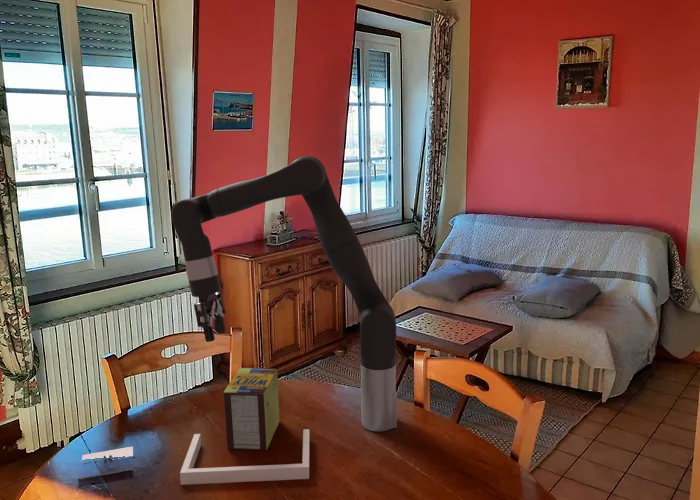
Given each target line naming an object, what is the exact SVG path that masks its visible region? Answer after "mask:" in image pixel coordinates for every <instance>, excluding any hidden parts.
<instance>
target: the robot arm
mask: <svg viewBox="0 0 700 500" xmlns="http://www.w3.org/2000/svg"><path fill="white" fill-rule="evenodd" d="M295 196H302V198H303V200H304V201H305V203H306V205H307V207H308V209H309V210H310V211H309V212H310V213H311V215H312V218H313V221H314V225H315V229H316V232H317V235H318V239H319V242H320V244H321V247H322V250H323V252H324V254H325V256H326V258H327V260H328V262H329V265H330V266H331V268H332V270H333V271H334V273H335V274H336V276H337V277H338V278H339V280H341V282H342V283H343V284H344V285H345V287H346V288H347V290H348V291H349V293H350V294H351V296H352V299H353V301H354V303H355V306H356V308H357V312H358V314H359V319H360V320H359V321H360V322H359V344H360V346H359V347H360V349H359V350H360V351H359V354H360V402H361V405H360V409H361V411H360V412H361V413H360V417H361V418H360V420H361V422H360V423H361V425H362V427H363V428H364V429H366V430H368V431H371V432H378V433H379V432H386V431H390V430H392V429H397V428H398V394H397V388H396V387H397V386H396V385H397V384H396V382H397V381H396V380H397V379H396V378H397V377H396V376H397V375H396V374H397V371H396V370H397V368H396V363H397V362H396V361H397V360H396V359H397V358H396V357H397V321H396V315H395V314H396V313H395V312H394V310H393V308H392V306H391V305H390V303H389V301H388V299H386V297H385V295H384V294H383V292H382V291H381V289H380V287H379V285H378V283H377V282H376V280H375V277H374V275H373V272H372V268H371V266H370V262H369V261H368V258H367V256H366V253H365V250H364V249H363V246H362V244H361V242H360V240H359V238H358V235H357V234H356V232H355V230H354V228H353V226H352V224H351V223H350V221H349V220H348V218H347V215H346V214H345V212H344V211H343V208H342V207H341V205H340V204H339V202H338V200H337V198H336V196H335V193H334V190H333V188H332V185H331V182H330V179H329V177H328V174H327V170H326V167H325V166H324V164H323V162H321V160H320V159H318V158H317V157H315V156H311V155H303V156H300V157H298V158H296V159H295V160H293V161H292V162H291V163H290V164H287V165H286V166H283V167H282V168H281V169H279V170H276V171H274V172H271V173H269V174H266V175H263V176H259V177H257V178H251V179H247V180H243V181H238V182H235V183H231V184H228V185H225V186H222V187H219V188H216V189H214V190H212V191H210V192H209V193H206V194H202V195H198V196H195V197H190V198H184V199H183V198H182V199H179V200H177V201H176V202H174V204H173V206H172V208H171V213H170V214H171V221H172V224H173V227H174V230H175V233H176V235H177V238H178V239H179V242H180V243H181V246H182V248H181V249H182V251H183V257H184V262H185V271H186V275H187V279H188V283H189V284H188V285H189V289H190V294H191V296H192V297H194V298H198V302H196V303H193V307H194V312H195V318H196V323H197V327H198V328H201V329H202V330H203V334H204V339H205V343H210V342H214V341H216V340H215V339H216V337H215V334H214V329H213V325H212V324H213V319H214V325H215V330H216V333H217V334H224V333H226V326H225V320H224V317H225V315H226V308H225V304H224V299H223V296H222V293H221V292H220V291H222V287H221V282H220V279H219V278H220V277H219V273H218V267H217V264H216V261H215V258H214V255H213V254H214V253H213V250H212V245H211V241H210V238H209V236H208V235H206V234H205V233H204V229H203V227H202V224H204V223H207V222H209V221H212V220H215V219H216V218H221V217H226V216H228V215H233V214H235V213H239V212H241V211H244V210H248V209H250V208H252V207H255V206H259V205H261V204H264V203H267V202H271V201H273V200H277V199H284V198H288V197H295ZM389 429H390V430H389Z"/></svg>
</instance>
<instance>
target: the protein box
mask: <svg viewBox="0 0 700 500" xmlns="http://www.w3.org/2000/svg"><path fill="white" fill-rule="evenodd" d="M278 379H279V378H278V369H277V368H262V367H261V368H255V367H239V369H238V370H237V371H236V373H235V375H234V376H233V378H232V379H231V380H230V382H229V383H228V385H227V386H226V388H225V389H224V391H223V402H224V403H223V404H224V417H225V418H224V419H225V421H224V422H225V433H226V447H227V448H226V449H227V450H249V451H251V450H254V451H267V450H268V448H269V446H270V444H271V442H272V440H273V436H274V434H275V432H276V430H277V428H278V426H279V423H280V408H279V407H280V405H279V386H278V385H279V383H278V382H279V380H278Z"/></svg>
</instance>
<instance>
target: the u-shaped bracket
mask: <svg viewBox="0 0 700 500" xmlns="http://www.w3.org/2000/svg"><path fill="white" fill-rule="evenodd" d="M201 437H202V435H201V433H194V434H193V436H192V440H191V442H190V444H189V448H188V450H187V453H186V456H185V458H184V461H183V463H182V467H181V468H180V469H181V470H180V472H179V479H180V485H181V486H182V485H185V486H186V485H203V484H205V485H207V484H208V485H209V484H224V483H225V484H226V483H227V484H228V483H229V484H230V483H244V482H245V483H247V482H267V481H268V482H269V481H270V482H271V481H289V480H291V481H292V480H309V479H310V447H311V444H310V429H309V428H308V429H307V428H306V429H305V428H304V429H303V432H302V462H301V463H288V464H286V463H285V464H267V465H266V464H265V465H246V466H245V465H243V466H241V465H240V466H223V467H222V466H219V467H201V468H200V467H198V468H195V464H196V461H197V458H198V455H199V452H200V449H201V446H202V438H201Z"/></svg>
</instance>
